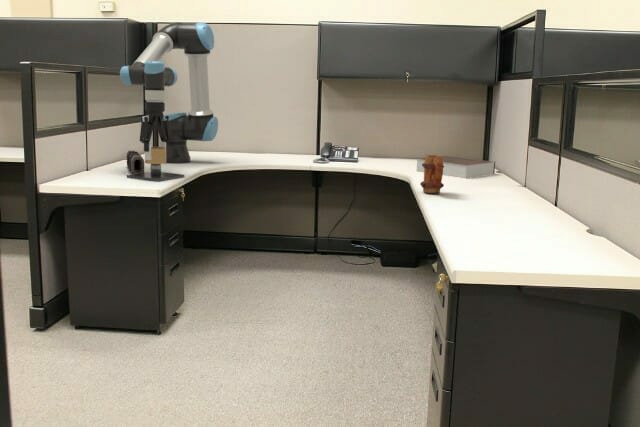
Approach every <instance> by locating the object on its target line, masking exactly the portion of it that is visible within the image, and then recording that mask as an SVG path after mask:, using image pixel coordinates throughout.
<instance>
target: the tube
mask: <svg viewBox="0 0 640 427" xmlns="http://www.w3.org/2000/svg"><path fill="white" fill-rule="evenodd" d="M126 167H127V168H128V170H129V171H130V172H131V173H132V174H139V173H145V158H143V157H142V155H141V154H140V153H139V152H138V151H136V150H128V151H127V152H126Z"/></svg>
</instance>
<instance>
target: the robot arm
mask: <svg viewBox="0 0 640 427" xmlns="http://www.w3.org/2000/svg"><path fill="white" fill-rule="evenodd" d="M214 47H215V36H214V32H213V29H212V28H211V26H210V25H209V24H208V23H204V22H178V21H177V22H173V23H169V24H166V25H165V26H164V27H161V28H160V29H159V30H158V31H157V32H155V34H154V35H153V36H152V40H151V42H150V44H148V46H147V47H146V48H145V49H144V50H143V51H142V53H140V55H139V56H138V57H137V59H136V60H135V61H134V62H133V63H132V64H131V65H124V66H122V67H121V68H120V71H119V78H120V81H121V84H124V85H126V86H127V85H129V86H144V100H145V103H144V107H145V108H144V110H145V112H146V115H145V116H142V115H141V116H140V121H141V123H140V133H139V142H140V143H141V144H143V151H144V161H145V160H151V147H152V143H150V141H151V139H152V135H153V133H154V132H153V131H154V129H155V127H156V130H157V132H158V136H159V138H160V141H159V147H165V148H166V163H165V164H167V163H168V164H183V163H184V164H185V163H191V155H190V153H189V152H190V151H189V149H188V145H187V141H196V142H198V141H200V142H211V141H213V140H215V138H216V136H217V133H218V130H219V129H218V128H219V120H218V117H217V116H215V115H214V111H212V109H211V107H210V106H211V105H210V104H211V103H210V87H209V86H210V84H209V69H208V68H209V66H208V56H210V55H211V51H213V49H214ZM177 49H178V50H183V53H184V55H185V56H186V57H187V63H188V64H187V65H188V78H189V81H188V82H189V93H190V110H189V111H188V112H177V113H176V112H175V113H174V112H173V113H165V114H164V112H165V111H166V109H165V106H166V104H165V100H166V97H165V96H166V95H165V94H166V92H165V87H168V88H169V87H173V86H174V85H175V84H176V83H177V81H178V72H176V70H175V69H174V68H171V67H170V66H169V67H168V66H167V67H165V63H164V62H163V61H161V60H162V59H163V58H164V56H165V55H166V54H167V53H169V52H171V51H172V50H177Z"/></svg>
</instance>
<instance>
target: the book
mask: <svg viewBox="0 0 640 427" xmlns="http://www.w3.org/2000/svg"><path fill="white" fill-rule="evenodd" d="M441 156H442V158H443V165H444V168H443V176H446V177H451V176H452V178H458V177H460V178H459V179H465V178H466V179H471V178H470V177H474V178H478V177H477V176H481V177H484V176H483V175H488V176H491V175H490V174H494V175H495V173H496V172H495V169H496V161H490V160H481V159H475V158H466V157H457V156H448V155H441ZM424 162H425V157H423V158H422V157H421V158H416V172H420V173H424V168H423V166H422V164H423V163H424Z"/></svg>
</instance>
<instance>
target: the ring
mask: <svg viewBox="0 0 640 427" xmlns="http://www.w3.org/2000/svg"><path fill="white" fill-rule="evenodd" d="M144 164H148V165H151V164H161V165H163V164H167V163H166V148H165V147H160V146H151V160H145V159H144Z"/></svg>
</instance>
